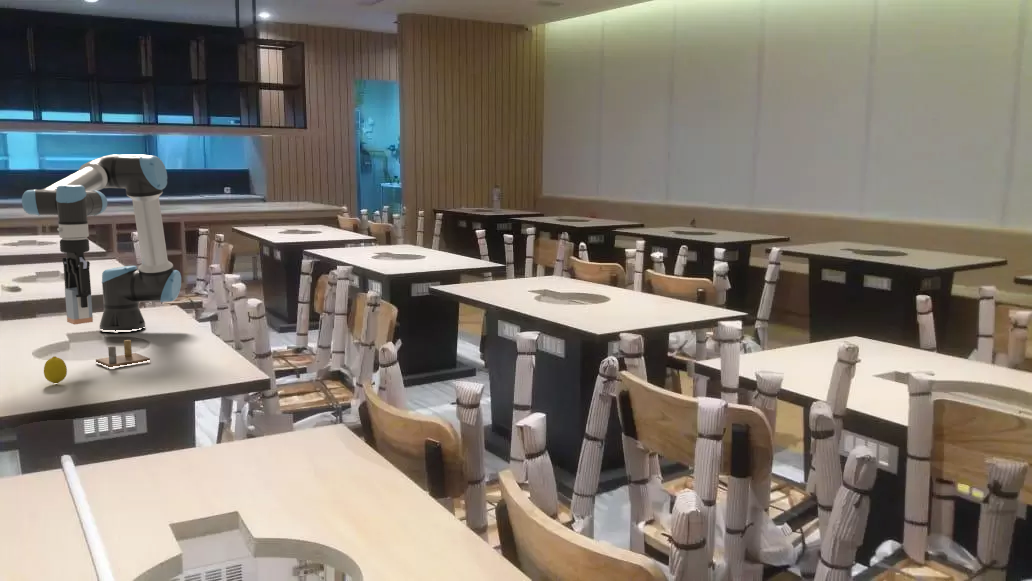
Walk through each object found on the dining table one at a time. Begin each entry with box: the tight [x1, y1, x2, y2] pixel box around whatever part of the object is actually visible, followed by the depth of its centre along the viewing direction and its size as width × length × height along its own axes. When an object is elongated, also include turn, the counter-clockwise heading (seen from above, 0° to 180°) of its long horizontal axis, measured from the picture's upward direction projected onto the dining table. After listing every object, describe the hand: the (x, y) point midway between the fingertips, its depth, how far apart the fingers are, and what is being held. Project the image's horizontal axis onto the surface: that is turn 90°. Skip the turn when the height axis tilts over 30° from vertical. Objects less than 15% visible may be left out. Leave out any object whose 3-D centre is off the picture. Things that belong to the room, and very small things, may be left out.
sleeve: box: [64, 287, 94, 325], centre depth 239 cm, size 5×5×10 cm
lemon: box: [43, 355, 68, 384], centre depth 224 cm, size 6×6×8 cm
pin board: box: [95, 339, 151, 367], centre depth 248 cm, size 12×10×6 cm
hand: (79, 316), depth 240 cm, fingers closed on sleeve, 5 cm apart
